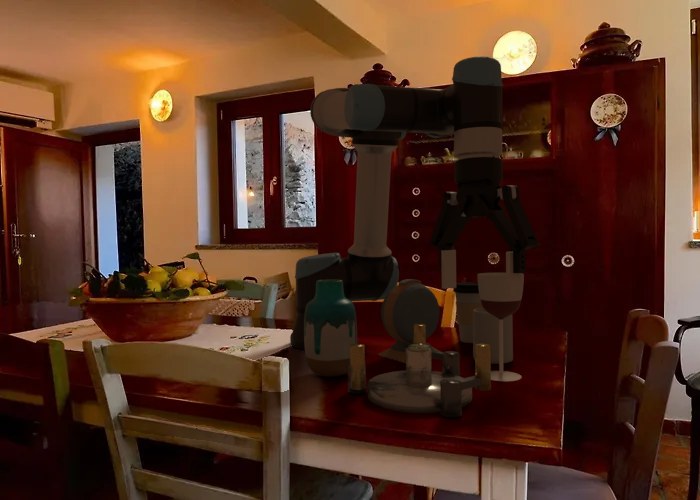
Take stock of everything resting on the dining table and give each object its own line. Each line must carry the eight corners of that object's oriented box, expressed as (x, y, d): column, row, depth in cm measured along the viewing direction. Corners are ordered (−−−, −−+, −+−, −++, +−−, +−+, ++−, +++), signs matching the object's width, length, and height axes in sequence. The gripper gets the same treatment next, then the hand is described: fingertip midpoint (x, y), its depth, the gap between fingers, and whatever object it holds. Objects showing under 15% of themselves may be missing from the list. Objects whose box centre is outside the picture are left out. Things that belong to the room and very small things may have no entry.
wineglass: (481, 368, 106) (480, 272, 105) (526, 372, 102) (525, 272, 102) (475, 379, 98) (474, 275, 98) (523, 383, 95) (522, 276, 94)
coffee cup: (488, 337, 137) (488, 281, 136) (492, 345, 127) (491, 285, 127) (452, 337, 138) (452, 281, 138) (453, 344, 129) (453, 285, 129)
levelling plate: (346, 398, 88) (345, 345, 88) (406, 375, 102) (405, 329, 101) (436, 421, 76) (435, 360, 76) (490, 392, 90) (489, 340, 90)
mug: (514, 364, 108) (513, 313, 108) (472, 363, 111) (472, 312, 110) (511, 352, 120) (510, 305, 120) (473, 350, 122) (473, 304, 122)
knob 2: (450, 419, 76) (450, 354, 76) (436, 413, 79) (435, 350, 79) (496, 406, 82) (495, 346, 81) (481, 401, 84) (480, 342, 84)
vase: (368, 374, 103) (366, 279, 102) (330, 386, 95) (328, 284, 95) (332, 365, 110) (330, 277, 110) (294, 376, 103) (292, 281, 102)
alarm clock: (419, 347, 127) (418, 276, 127) (448, 354, 119) (447, 278, 119) (374, 355, 119) (372, 280, 118) (402, 364, 111) (400, 282, 110)
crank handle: (462, 378, 98) (462, 328, 97) (454, 382, 95) (453, 330, 95) (419, 370, 104) (418, 323, 104) (410, 374, 102) (409, 325, 101)
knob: (348, 388, 93) (347, 335, 92) (365, 388, 93) (364, 335, 92) (348, 406, 83) (347, 347, 83) (368, 406, 83) (367, 346, 83)
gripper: (562, 149, 73) (563, 296, 74) (440, 169, 94) (441, 284, 95) (529, 144, 69) (530, 301, 70) (409, 166, 90) (410, 287, 90)
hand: (479, 291), depth 82 cm, fingers open, 13 cm apart
